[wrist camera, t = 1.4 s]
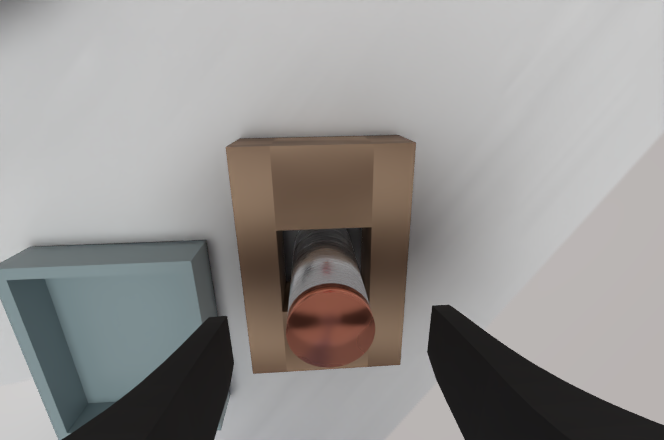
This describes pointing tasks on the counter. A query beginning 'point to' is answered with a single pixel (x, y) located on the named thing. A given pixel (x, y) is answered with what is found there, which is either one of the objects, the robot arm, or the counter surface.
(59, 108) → the counter surface
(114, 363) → the tray
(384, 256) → the block
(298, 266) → the spice jar
